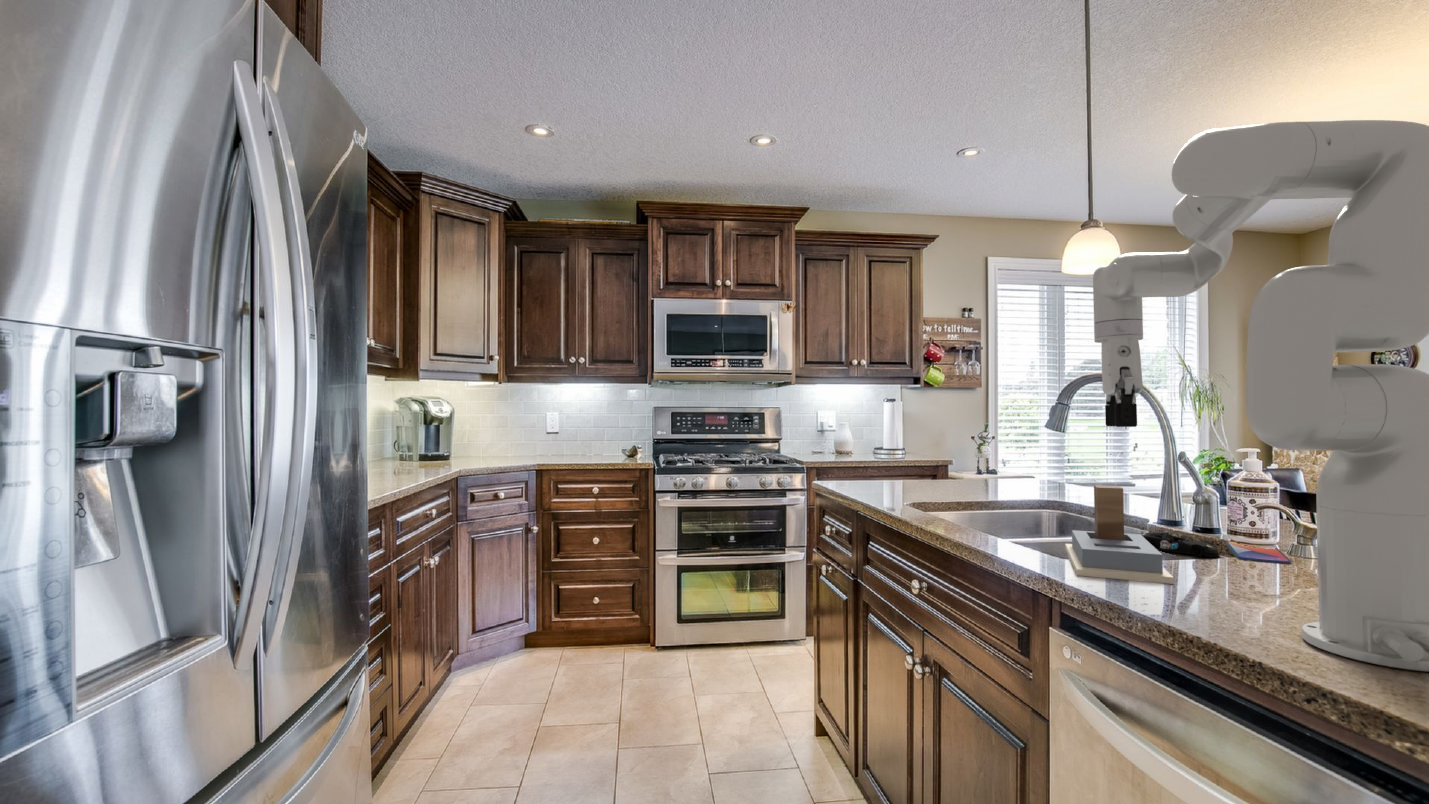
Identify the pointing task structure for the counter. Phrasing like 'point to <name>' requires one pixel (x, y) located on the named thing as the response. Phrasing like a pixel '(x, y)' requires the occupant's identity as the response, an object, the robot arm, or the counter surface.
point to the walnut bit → (1109, 512)
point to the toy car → (1181, 544)
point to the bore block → (1116, 558)
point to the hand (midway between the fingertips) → (1120, 426)
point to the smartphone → (1257, 553)
